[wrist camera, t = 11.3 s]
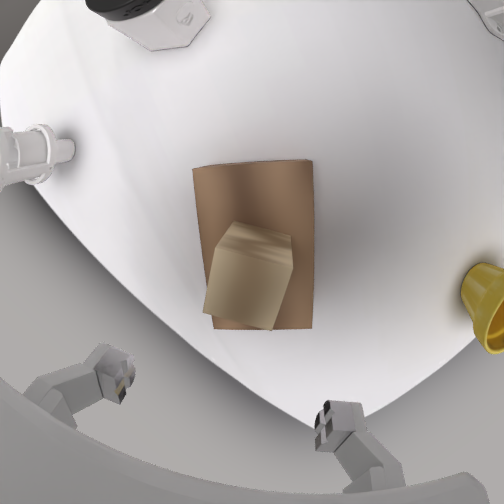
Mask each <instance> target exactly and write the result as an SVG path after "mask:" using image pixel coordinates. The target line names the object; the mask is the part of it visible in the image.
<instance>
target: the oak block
mask: <svg viewBox="0 0 504 504" xmlns="http://www.w3.org/2000/svg"><path fill="white" fill-rule="evenodd" d="M292 270H293V258H292V246H291V236H290V235H286V234H283V233H279V232H275V231H272V230H268V229H264V228H260V227H257V226H253V225H249V224H245V223H241V222H238V221H233V223H232V224H231V226H230V227H229V228H228V230H227V231H226V233H225V234H224V236H223V237H222V238H221V240H220V241H219V243H218V244H217V246H216V247H215V251H214V256H213V261H212V266H211V271H210V276H209V281H208V286H207V292H206V297H205V302H204V308H203V313H206V314H210V315H213V316H217V317H220V318H224V319H227V320H231V321H235V322H238V323H242V324H246V325H250V326H254V327H258V328H261V329H266V330H270V331H272V329H273V326H274V323H275V320H276V317H277V315H278V312H279V309H280V306H281V303H282V300H283V297H284V294H285V291H286V288H287V286H288V283H289V280H290V277H291V274H292Z"/></svg>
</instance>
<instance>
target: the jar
mask: <svg viewBox="0 0 504 504" xmlns="http://www.w3.org/2000/svg"><path fill="white" fill-rule="evenodd" d="M85 2H86V5H87V7H88V8H89V9H90V10H91V11H93V12H95V13H97V14H99V15H100V16H102V17H104V18H105V19H106V21H107V23H108V25H109V26H111V27H112V28H114V29H116V30H118V31H119V32H121V33H123V34H124V35H126V36H127V37H129V38H131V39H132V40H134V41H136V42H137V43H139V44H140V45H142V46H143V47H145V48H146V49H148V50H149V51H155V50H162V49H169V48H177V47H186V46H188V45H189V44H190V42H191V41H192V40H193V38H194V37H195V36H196V35H197V33H198V32H199V31H200V30H201V28H202V27H203V26H204V25H205V23H206V22H207V21H208V20H209V19H210V17H211V16H210V14H209V12H208V11H207V9H206V7H205V6H204V4H203V2H202V1H201V0H85Z"/></svg>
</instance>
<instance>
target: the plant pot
mask: <svg viewBox="0 0 504 504" xmlns="http://www.w3.org/2000/svg"><path fill="white" fill-rule="evenodd" d="M461 298H462V301H463V303H464V305H465V307H466V309H467V311H468V313H469V315H470V317H471V319H472V321H473V330H474V334H475V336H476V338H477V339H478V340H479V342H480V343H481V345H482V346H483V347H484V348H485V350H486V351H487V352H488V353H491V354H499V353H502V352H504V269H503V268H500V267H497V266H494V265H490V264H487V263H479V264H477V265H475V266H474V267H472V268H471V269H470V270H469V272H468V273H467V275H466V276H465V278H464V281H463V283H462V287H461Z"/></svg>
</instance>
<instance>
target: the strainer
mask: <svg viewBox="0 0 504 504" xmlns="http://www.w3.org/2000/svg"><path fill="white" fill-rule="evenodd" d="M37 129H39V130H41V131H35V130H37ZM74 153H75V145H74V143H73V141H72V140H70V139H61V140H56V138H55V135H54V133H53V131H52V129H51V128H50V127H49V126H47V125H45V124H34V125H31V126H30V127H28V128H27V129H26V130H25V131H24V132H15V133H13V130H12V129H11V128H10V127H0V192H1V191H2V189H3V187H4V186H5V185H9V184H13V183H16V182H20V181H25V182H26V183H27V184H30V185H35V184H39V183H42V182H44V181H46V180H47V179H48V178H49V176H50V175H51V173H52V171H53V169H54V166H55V163H61V162H68V161H70V160H71V159H72V158H73V156H74ZM36 177H39V178H38V179H35V178H36Z"/></svg>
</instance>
